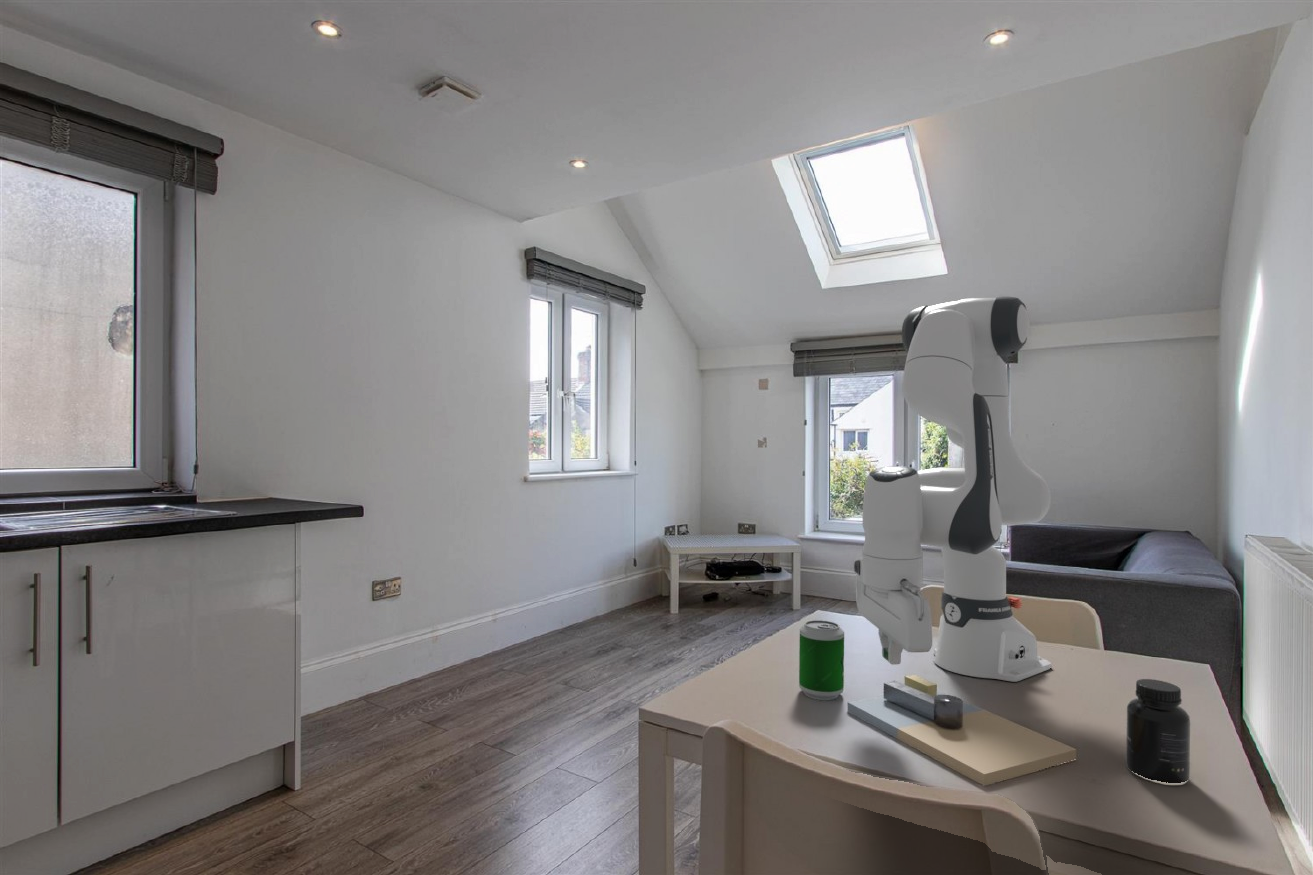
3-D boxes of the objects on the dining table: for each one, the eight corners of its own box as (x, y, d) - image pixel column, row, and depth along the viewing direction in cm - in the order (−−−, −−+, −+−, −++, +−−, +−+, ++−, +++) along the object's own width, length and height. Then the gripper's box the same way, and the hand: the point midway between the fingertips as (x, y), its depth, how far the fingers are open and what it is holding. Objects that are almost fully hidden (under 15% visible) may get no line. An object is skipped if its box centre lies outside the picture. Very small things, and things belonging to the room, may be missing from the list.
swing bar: (968, 725, 101) (968, 701, 101) (950, 730, 99) (950, 706, 99) (897, 694, 113) (897, 673, 113) (880, 698, 111) (880, 677, 111)
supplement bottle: (1113, 763, 94) (1114, 675, 94) (1160, 761, 94) (1160, 675, 94) (1154, 788, 87) (1155, 694, 87) (1203, 787, 87) (1204, 693, 87)
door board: (929, 695, 118) (930, 670, 118) (1076, 760, 94) (1076, 729, 94) (847, 711, 111) (847, 684, 111) (984, 785, 87) (984, 752, 87)
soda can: (845, 703, 114) (845, 631, 114) (799, 699, 115) (799, 628, 115) (842, 687, 121) (842, 620, 121) (798, 684, 123) (799, 617, 123)
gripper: (944, 589, 95) (943, 687, 95) (885, 558, 115) (885, 639, 116) (900, 590, 95) (900, 688, 95) (849, 559, 115) (848, 640, 115)
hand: (891, 661), depth 106 cm, fingers closed
